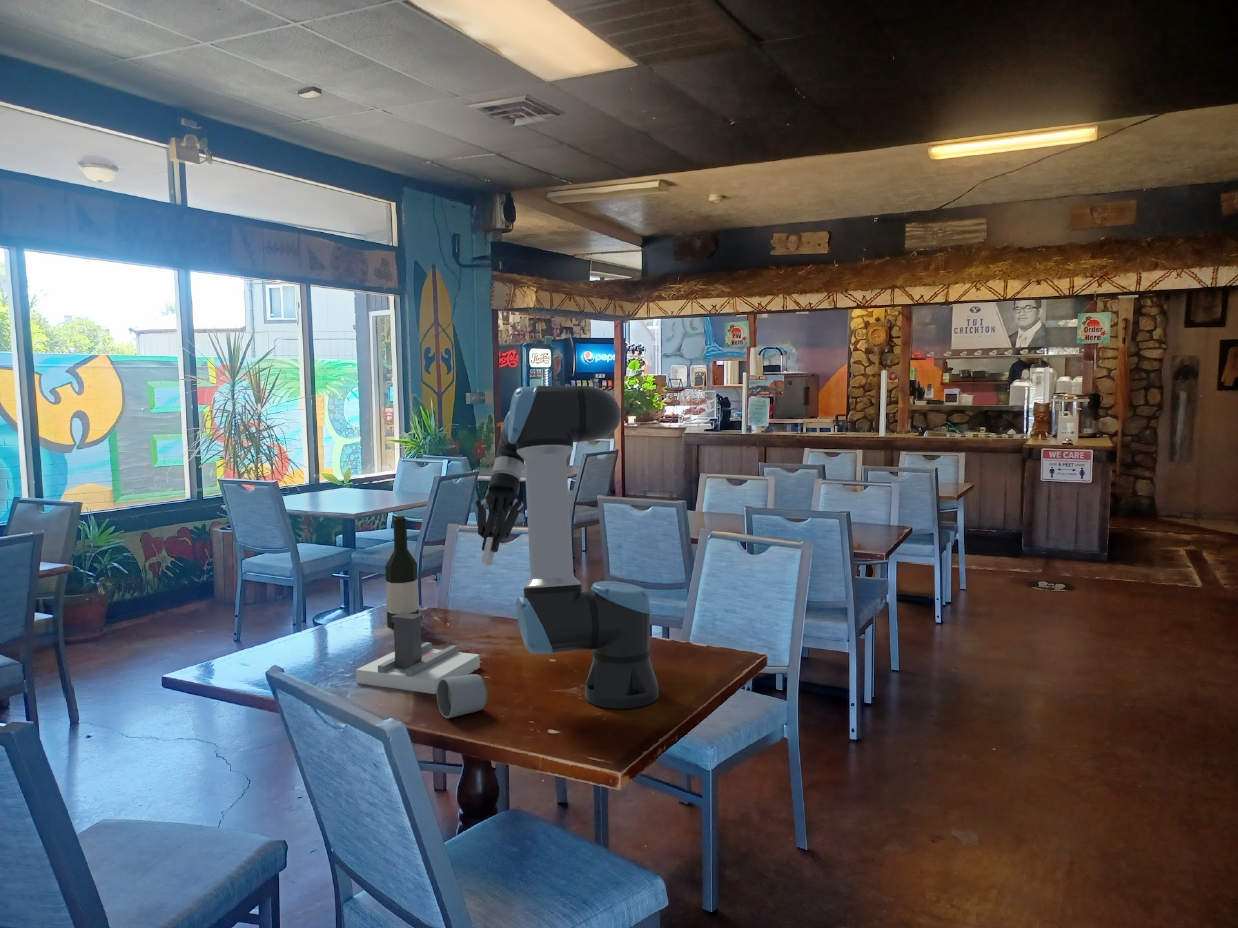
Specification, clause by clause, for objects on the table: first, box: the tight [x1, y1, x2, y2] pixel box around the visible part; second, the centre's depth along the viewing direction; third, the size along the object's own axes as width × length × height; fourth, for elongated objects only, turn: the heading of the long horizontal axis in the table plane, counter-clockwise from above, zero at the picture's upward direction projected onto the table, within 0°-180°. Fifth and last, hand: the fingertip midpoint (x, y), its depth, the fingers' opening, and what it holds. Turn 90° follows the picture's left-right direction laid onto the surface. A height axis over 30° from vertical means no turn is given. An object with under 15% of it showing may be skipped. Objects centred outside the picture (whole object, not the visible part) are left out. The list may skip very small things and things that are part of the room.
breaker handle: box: [391, 613, 424, 668], centre depth 180 cm, size 6×4×11 cm, turn 69°
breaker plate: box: [355, 641, 481, 695], centre depth 184 cm, size 20×18×4 cm
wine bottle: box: [385, 514, 420, 630], centre depth 224 cm, size 8×8×30 cm
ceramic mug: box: [436, 673, 489, 719], centre depth 163 cm, size 11×8×8 cm
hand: (486, 563), depth 203 cm, fingers closed
